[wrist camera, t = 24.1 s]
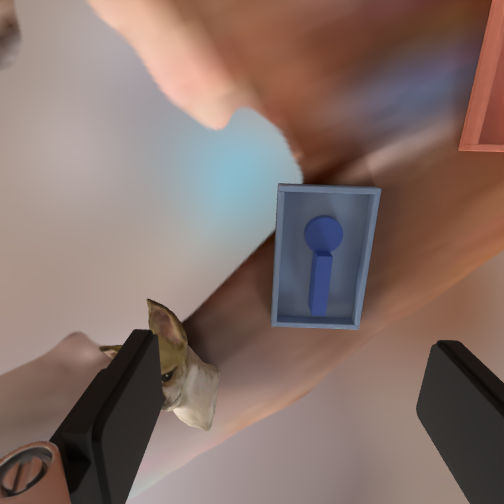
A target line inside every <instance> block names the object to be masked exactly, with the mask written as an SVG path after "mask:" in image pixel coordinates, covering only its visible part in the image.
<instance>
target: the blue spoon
mask: <svg viewBox="0 0 504 504" xmlns="http://www.w3.org/2000/svg"><path fill="white" fill-rule="evenodd" d="M304 239H305V241H306V243H307V245H308V247H309V248H310V249H311V250H313V257H312V267H311V278H310V288H309V298H308V306H309V309H310V312H311V315H312V316H326V310H327V302H328V293H329V285H330V277H331V268H332V260H333V256H332V255H331V253H330V252H332V251H334V250H335V249H336V248H337V247H338V246H339V245H340V244H341V242H342V239H343V229H342V227H341V225H340V224H339V223H338V222H337V221H336V220H335V219H334V218H332V217H330V216H327V215H321V216H317V217H314V218H313V219H311V220H310V221H309V222H308V223H307V225H306V227H305V230H304Z"/></svg>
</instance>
